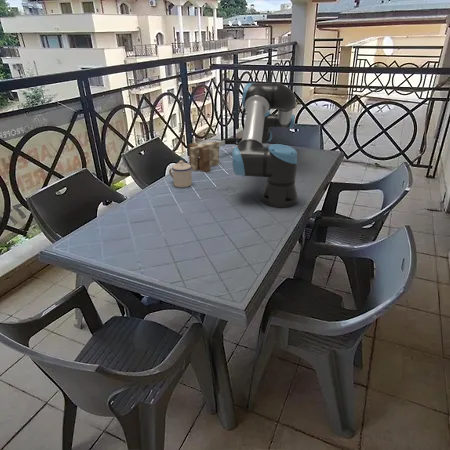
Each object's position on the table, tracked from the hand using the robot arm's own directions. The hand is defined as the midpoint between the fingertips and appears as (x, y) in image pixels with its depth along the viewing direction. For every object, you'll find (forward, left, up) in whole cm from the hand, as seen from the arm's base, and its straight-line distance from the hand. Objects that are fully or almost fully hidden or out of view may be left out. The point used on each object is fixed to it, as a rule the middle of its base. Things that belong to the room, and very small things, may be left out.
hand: (223, 147), depth 192 cm
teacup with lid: (-38, +8, -8) cm, 40 cm away
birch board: (-12, +6, -8) cm, 15 cm away
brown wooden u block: (-15, +8, -8) cm, 19 cm away
